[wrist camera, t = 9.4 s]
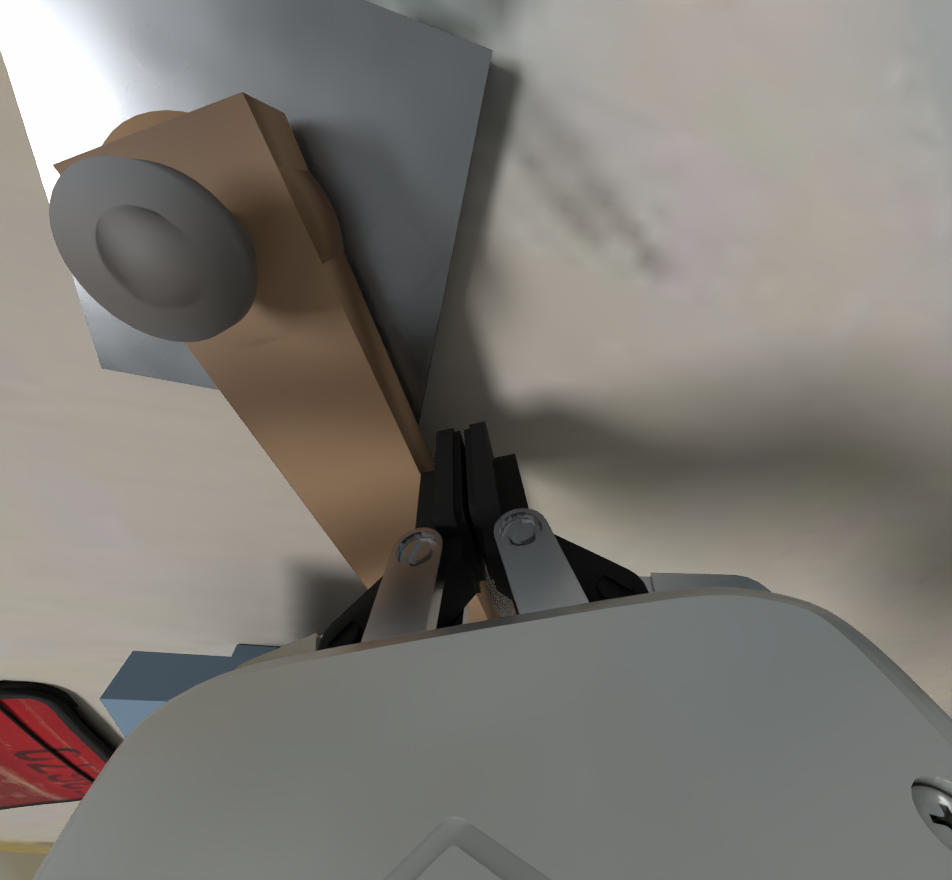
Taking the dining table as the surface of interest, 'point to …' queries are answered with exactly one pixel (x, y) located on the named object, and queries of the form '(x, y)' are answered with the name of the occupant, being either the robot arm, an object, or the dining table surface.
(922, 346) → the dining table surface
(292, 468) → the latch bar
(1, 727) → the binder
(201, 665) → the block
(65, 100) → the pintle base
